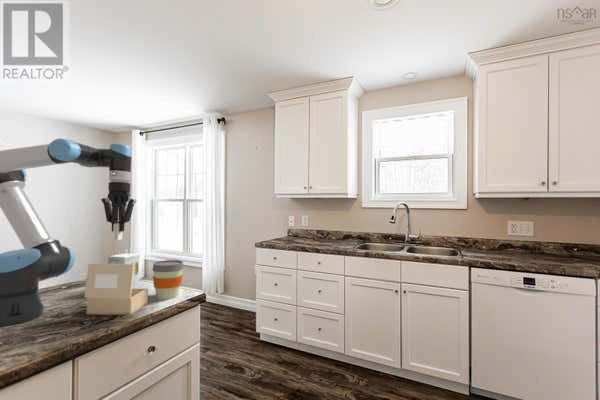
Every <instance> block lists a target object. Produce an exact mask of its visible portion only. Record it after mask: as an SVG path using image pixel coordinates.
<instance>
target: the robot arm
mask: <svg viewBox="0 0 600 400" xmlns="http://www.w3.org/2000/svg"><path fill="white" fill-rule="evenodd" d="M109 145H110V146H109V148H96V147H92V146H89V145H85V144H82V143H79V142H76V141H74V140H71V139H70V140H69V139H67V138H66V139H64V138H56V139H53V140H52V141H51V142H50V143H47V144H39V145H31V146H24V147H17V148H10V149H4V150H3V149H2V150H0V209H1V210H2V212H3V214H4V216H5V217H6V219H7V221H8V222H9V224H10V226H11V228H12V230H13V231H14V233H15V235H16V237H17V238H18V239H19V241H20V244H21V245H22V247H23V248H20V249H14V250H9V251H4V252H1V253H0V327H5V326H11V325H17V324H21V323H25V322H29V321H31V320H34V319H36V318H39V317H41V316H42V315H43V314H44V313H45V305H44V304H43V303H42V299H41V296H40V293H39V285H40V283H39V282H41V281H46V280H49V279H51V278H57V277H60V276H61V275H64V274H66V273H67V272H69V271H70V270H71V269H72V268H73V266H74V263H75V260H76V255H75V253H74V251H73V249H71V248H70V247H67V246H62V244H61V242H60V241H59V240H58V239H57V238H52V237H51V235H50V233H49V231H48V229H47V228H46V226H45V224H44V223H43V221H42V219H41V218H40V216H39V214H38V213H37V211H36V209H35V208H34V206H33V204H32V202H31V201H30V199H29V197H28V196H27V194H26V192H25V190H24V188H25V187H26V180H27V171H26V170H27V169H28V170H29V169H35V168H41V167H42V168H43V167H47V166H49V167H50V166H54V165H56V166H57V165H61V164H70V163H72V164H73V163H74V164H78V165H79V166H81V167H87V168H108V181H109V182H108V186H107V187H108V193H107V196H106V197H104V198H101V202H102V203H103V207H104V213H105V219H106V222H107V223H111V232H113V234H112V238H113V239H112V240H113V241H119V240H123V232H125V225H126V223H129V222H130V221H131V219H132V218H131V217H132V214H133V209H134V206H135V204H136V203H137V199H136V198H133V197H131V193H130V192H131V181H132V176H131V175H132V171H131V168H132V158H133V156H132V147H131V146H130V145H127V144H124V143H115V142H114V143H110V144H109Z"/></svg>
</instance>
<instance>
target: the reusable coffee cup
mask: <svg viewBox="0 0 600 400" xmlns="http://www.w3.org/2000/svg"><path fill="white" fill-rule="evenodd" d="M152 264H153V265H152V272H153V275H152V282H153V287H154V291H155V298H156V299H157V300H163V301H164V300H165V301H168V300H171V299H176V298H177V297H179V292H180V288H181V287H180V286H181V285H182V280H183V270H184V261H183V260H179V259H178V260H177V259H167V260H160V261H156V262H154V263H152Z"/></svg>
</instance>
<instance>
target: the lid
mask: <svg viewBox="0 0 600 400" xmlns="http://www.w3.org/2000/svg"><path fill="white" fill-rule="evenodd" d="M87 265H88V266H87V272H86V273H87V275H86V282H85V289H84V299H87V298H131V290H132V280H133V269H134V264H108V263H88V264H87Z"/></svg>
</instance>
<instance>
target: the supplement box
mask: <svg viewBox="0 0 600 400" xmlns="http://www.w3.org/2000/svg"><path fill="white" fill-rule="evenodd" d="M107 264H134V269H133V280H132V289H139V279H140V278H139V277H140V253H127V252H126V253H124V252H123V253H121V254H115V255H109V256H107Z"/></svg>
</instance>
